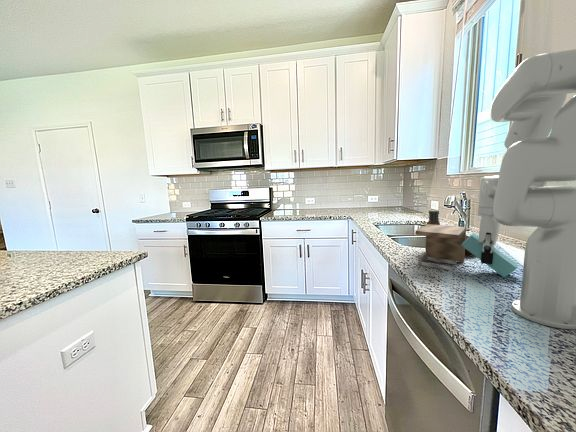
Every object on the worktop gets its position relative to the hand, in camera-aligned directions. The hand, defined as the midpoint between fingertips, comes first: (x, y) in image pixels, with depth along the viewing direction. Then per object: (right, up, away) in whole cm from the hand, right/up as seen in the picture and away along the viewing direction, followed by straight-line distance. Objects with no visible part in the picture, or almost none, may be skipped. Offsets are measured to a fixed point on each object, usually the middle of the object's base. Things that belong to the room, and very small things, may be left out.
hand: (487, 260), depth 91 cm
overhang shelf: (-11, -3, +10) cm, 15 cm away
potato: (+8, -1, +24) cm, 25 cm away
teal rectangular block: (-1, +1, +1) cm, 1 cm away
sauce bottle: (-5, -1, +27) cm, 27 cm away
